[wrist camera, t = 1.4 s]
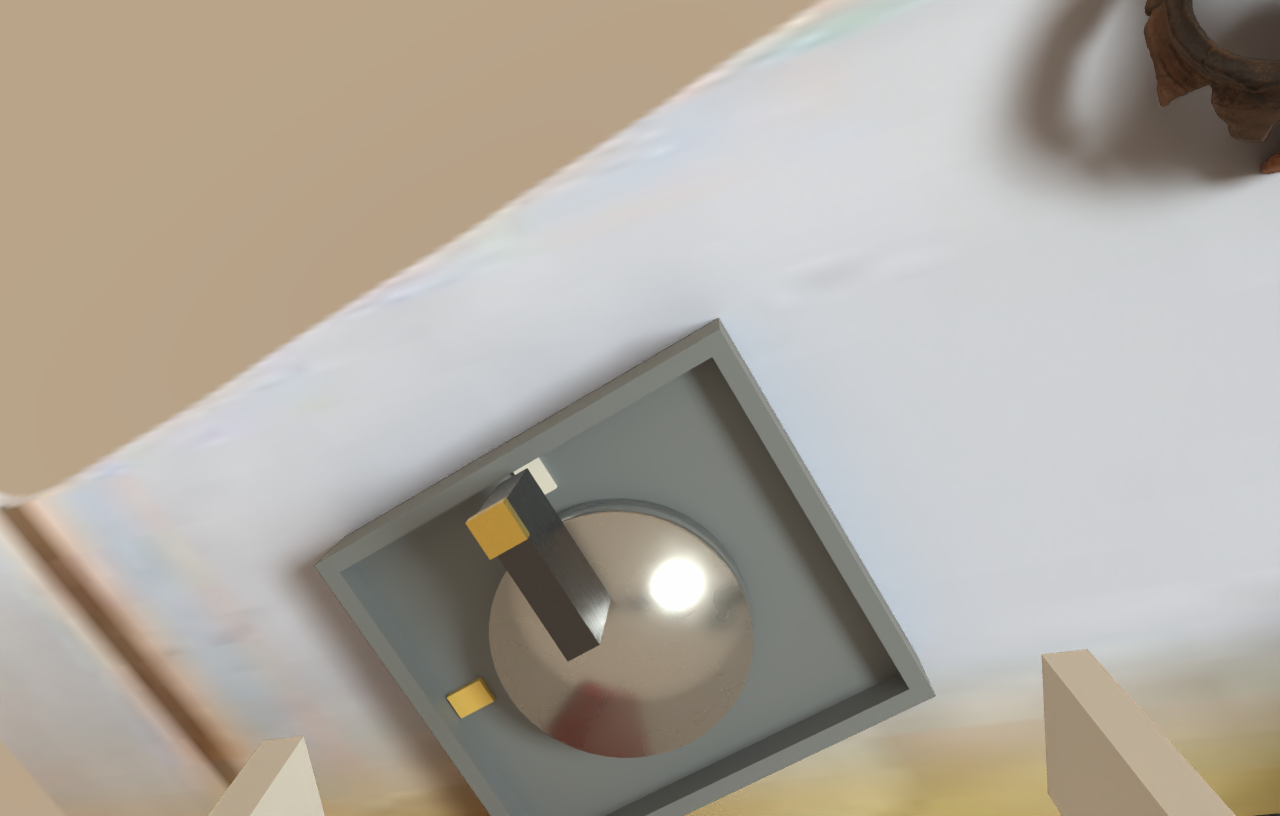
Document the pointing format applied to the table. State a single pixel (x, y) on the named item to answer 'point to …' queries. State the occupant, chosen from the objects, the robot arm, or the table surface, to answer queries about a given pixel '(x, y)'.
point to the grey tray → (691, 484)
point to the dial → (613, 620)
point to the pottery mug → (1212, 73)
